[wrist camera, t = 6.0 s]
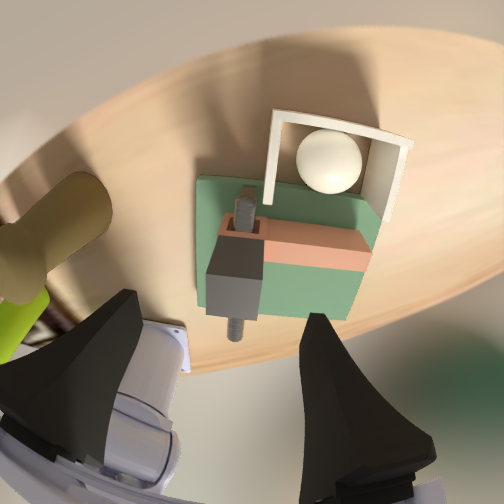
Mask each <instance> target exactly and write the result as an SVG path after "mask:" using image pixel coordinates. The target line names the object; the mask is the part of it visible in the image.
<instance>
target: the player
mask: <svg viewBox="0 0 504 504" xmlns="http://www.w3.org/2000/svg"><path fill="white" fill-rule="evenodd" d="M233 225H234V213H225V215H224V217H223V220H222V223H221V225H220V228H219V231H218V233H217V242H216V245H215V247H214V250H213V253H212V256H211V259H210V262H209V265H208V268H207V271H206V274H205V282H206V315H212V316H220V317H228V318H236V319H245V320H254V321H257V315H258V309H259V302H260V295H261V288H262V281H263V263H264V261H266V262H275V263H284V264H293V265H303V266H312V267H322V268H331V269H341V270H350V271H360V272H366V270H367V267H368V264H369V262H370V259H371V256H372V251H371V250H370V248H369V246H368V244H367V243H366V241H365V239H364V237H363V236H362V234H361V232H360V231H359V230H353V229H346V228H339V227H331V226H324V225H316V224H309V223H301V222H293V221H285V220H276V219H268V218H267V217H263V216H256V217H255V227H254V233H245V232H236V231H233Z"/></svg>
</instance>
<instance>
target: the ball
mask: <svg viewBox="0 0 504 504" xmlns="http://www.w3.org/2000/svg"><path fill="white" fill-rule="evenodd" d="M296 164H297V169H298V172H299V174H300V176H301V178H302V179H303V180H304V182H305V183H306V184H307V185H308V186H309V187H311V188H312V189H314V190H316V191H318V192H321V193H325V194H336V193H340V192H343V191H345V190H347V189H349V188H350V187H351V186H352V185H353V184H354V183H355V182H356V181H357V179H358V177H359V175H360V173H361V169H362V157H361V153H360V150H359V148H358V146H357V144H356V143H355V142H354V140H353V139H352V138H350V137H349V136H348V135H347V134H345V133H343V132H341V131H338V130H333V129H320V130H317V131H314V132H312V133H311V134H309V135H308V136H307V137H305V139H304V140H303V141H302V142H301V144H300V146H299V148H298V151H297V156H296Z"/></svg>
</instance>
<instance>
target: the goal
mask: <svg viewBox="0 0 504 504" xmlns="http://www.w3.org/2000/svg"><path fill="white" fill-rule="evenodd" d="M282 122H291V123H298V124H304V125H311V126H316V127H322V128H327V129H333V130H338V131H343V132H347V133H352V134H356V135H361V136H365V137H369V138H372V141H371V146H370V151H369V156H368V161H367V166H366V171H365V175H364V180H363V184H362V188H361V193H360V195H361V196H362V197H363V199H364V200H365V201H366V202H367V203H368V205H369V206H370V207H371V208H372V209H373V211H374V212H375V213H376V214H377V215H378V217H379V218H380V219H381V220H382V221H385V222H389V221H390V218H391V215H392V211H393V208H394V204H395V201H396V197H397V194H398V190H399V186H400V182H401V178H402V174H403V170H404V166H405V162H406V157H407V153H408V148H409V149H412V150H413V146H414V140H411V139H408V138H405V137H403V136H400V135H397V134H394V133H391V132H388V131H385V130H382V129H378V128H375V127H371V126H367V125H363V124H359V123H355V122H350V121H346V120H341V119H336V118H331V117H326V116H321V115H315V114H309V113H303V112H297V111H290V110H282V109H274V108H272V116H271V125H270V134H269V143H268V152H267V161H266V170H265V178H264V191H263V204H267V205H272V202H273V194H274V186H275V178H276V171H277V163H278V155H279V147H280V139H281V130H282Z"/></svg>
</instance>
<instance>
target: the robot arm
mask: <svg viewBox="0 0 504 504" xmlns="http://www.w3.org/2000/svg"><path fill="white" fill-rule="evenodd" d="M299 367H300V376H301V385H302V393H303V402H304V412H305V443H304V461H303V474H302V482H301V491H300V497H299V504H446V497H445V491H444V485H443V479H442V477H438V478H435V479H433V480H430V481H427V482H424V483H421V484H419V485H416V486H413V485H412V481H414V480H415V479H416V477H415V472H417V471H418V470H420V469H422V468H424V467H426V466H428V465H429V464H431V463H432V462H434V461H435V460H436V458H437V456H436V452H435V447H434V443H433V440H432V437H431V436H429V435H428V434H426V433H425V432H424V431H422V430H421V429H419V428H418V427H416V426H415V425H414V424H412V423H411V422H410V421H408V420H407V419H406V418H405V417H404V416H402V415H401V414H400V413H399V412H398V411H397V410H396V409H394V408H393V407H392V406H391V405H390V404H389V403H388V402H387V401H386V400H385V399H384V398H383V397H382V396H381V395H380V393H379V392H378V391H377V390H376V389H375V388H374V387H373V386H372V384H371V383H370V382H369V381H368V380H367V378H366V377H365V376H364V374H363V373H362V372H361V371H360V369H359V368H358V366H357V365H356V364H355V362H354V360H353V359H352V358H351V356H350V355H349V353H348V351H347V350H346V348H345V347H344V345H343V344H342V342H341V340H340V339H339V337H338V335H337V334H336V332H335V330H334V329H333V327H332V325H331V323H330V322H329V320H328V318H327V316H326V315H325V313H312V312H310V314H309V317H308V320H307V323H306V327H305V330H304V333H303V336H302V339H301V342H300V345H299ZM181 372H185V373H190V372H191V362H190V355H189V346H188V337H187V330H186V328H184V327H182V326H176V325H170V324H164V323H159V322H153V321H148V320H143V319H142V316H141V311H140V307H139V302H138V297H137V292H136V291H134V290H129V289H123V290H121V291H120V292H119V293H117V294H116V295H115V296H114V297H112V298H111V299H110V300H109V301H107V302H106V303H105V304H104V305H103V306H101V307H100V308H99V309H98V310H96V311H95V312H94V313H93V314H91V315H90V316H89V317H88V318H86V319H85V320H83V321H82V322H81V323H79V324H78V325H77V326H75V327H74V328H73V329H71V330H70V331H69V332H67V333H66V334H64V335H63V336H61V337H59V338H58V339H56V340H54V341H53V342H51V343H49V344H48V345H46V346H44V347H42V348H40V349H38V350H36V351H34V352H32V353H30V354H28V355H26V356H23V357H21V358H18V359H16V360H13V361H10V362H7V363H3V364H0V410H1V411H2V412H3V413H4V415H3V416H2V417H1V416H0V477H1V478H2V479H3V480H4V481H5V482H6V483H7V484H8V485H9V486H10V487H12V488H13V489H14V490H15V491H16V492H17V493H18V494H19V495H21V496H22V497H23V498H24V499H25V500H26V501H28V502H29V503H30V504H203V503H197V502H191V501H185V500H181V499H176V498H172V497H167V496H163V495H162V494H163V491H164V489H165V487H166V485H167V483H168V482H169V481H170V480H171V479H172V477H173V475H174V473H175V471H176V469H177V466H178V463H179V459H180V453H181V444H180V440H179V438H178V435H177V433H176V432H175V431H172V430H171V427H172V423H173V422H172V421H171V420H168V417H169V413H170V409H171V406H172V402H173V398H174V395H175V391H176V387H177V384H178V380H179V376H180V373H181Z"/></svg>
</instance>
